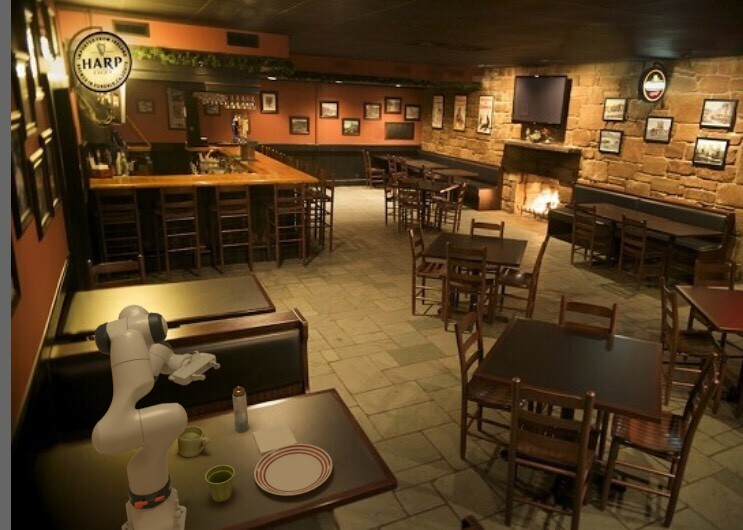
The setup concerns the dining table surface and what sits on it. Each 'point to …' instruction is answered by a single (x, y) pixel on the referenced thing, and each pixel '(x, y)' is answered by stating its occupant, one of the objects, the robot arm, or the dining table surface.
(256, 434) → the serving tile
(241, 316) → the dining table surface
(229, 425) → the dining table surface
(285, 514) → the dining table surface
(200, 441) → the mug
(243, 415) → the pepper mill
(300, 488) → the dinner plate
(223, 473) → the plant pot
